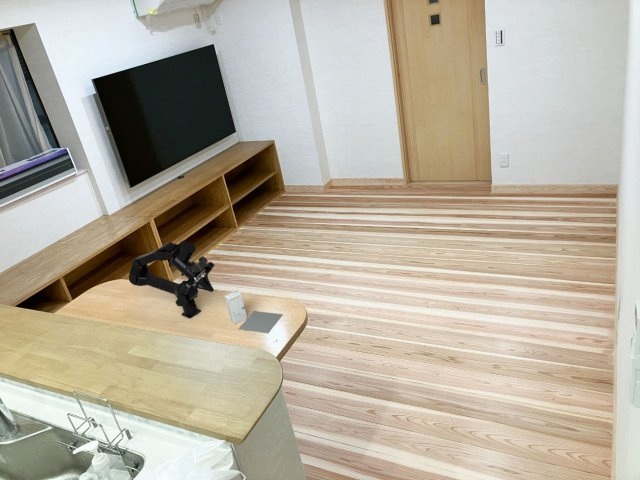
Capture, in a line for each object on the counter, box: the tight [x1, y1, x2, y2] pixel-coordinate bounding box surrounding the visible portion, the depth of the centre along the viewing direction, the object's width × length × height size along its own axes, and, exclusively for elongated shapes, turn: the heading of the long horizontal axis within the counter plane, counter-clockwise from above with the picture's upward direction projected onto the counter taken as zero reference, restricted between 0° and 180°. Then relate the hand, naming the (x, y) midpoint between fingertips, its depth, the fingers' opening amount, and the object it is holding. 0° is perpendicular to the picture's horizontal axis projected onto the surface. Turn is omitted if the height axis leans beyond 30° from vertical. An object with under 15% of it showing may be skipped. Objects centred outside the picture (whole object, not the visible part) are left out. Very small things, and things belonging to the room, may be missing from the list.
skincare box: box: [224, 290, 248, 325], centre depth 215 cm, size 6×4×12 cm
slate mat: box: [237, 310, 283, 334], centre depth 213 cm, size 14×13×1 cm
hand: (213, 291), depth 216 cm, fingers closed
